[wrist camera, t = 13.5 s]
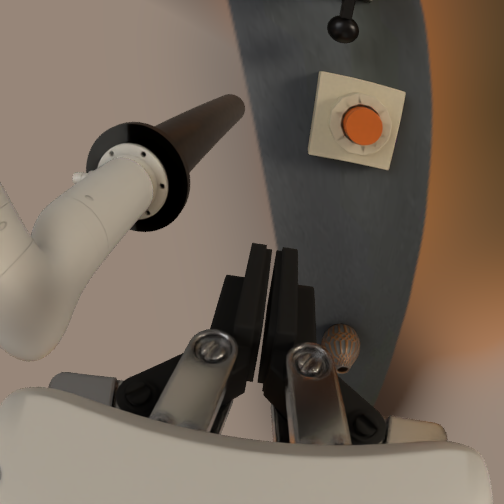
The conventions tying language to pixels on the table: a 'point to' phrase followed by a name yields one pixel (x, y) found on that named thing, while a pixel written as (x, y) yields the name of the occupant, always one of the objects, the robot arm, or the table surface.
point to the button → (362, 125)
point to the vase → (342, 346)
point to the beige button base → (336, 107)
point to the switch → (344, 24)
